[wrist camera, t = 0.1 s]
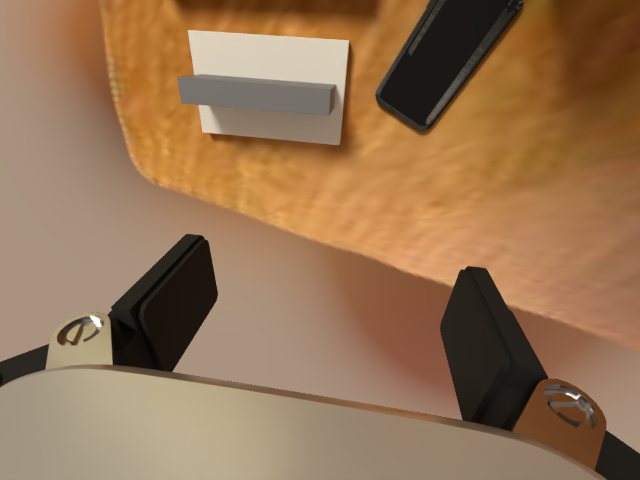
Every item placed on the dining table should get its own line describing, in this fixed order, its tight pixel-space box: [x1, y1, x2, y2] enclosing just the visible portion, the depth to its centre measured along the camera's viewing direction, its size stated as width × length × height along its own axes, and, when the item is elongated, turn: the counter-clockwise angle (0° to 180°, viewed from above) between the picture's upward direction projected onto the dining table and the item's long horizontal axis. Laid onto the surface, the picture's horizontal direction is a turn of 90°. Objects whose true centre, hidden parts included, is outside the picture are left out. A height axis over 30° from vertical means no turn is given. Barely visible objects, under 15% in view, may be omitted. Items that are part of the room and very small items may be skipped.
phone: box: [376, 0, 524, 131], centre depth 33 cm, size 8×1×15 cm
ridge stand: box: [177, 30, 350, 145], centre depth 34 cm, size 11×18×7 cm, turn 87°
